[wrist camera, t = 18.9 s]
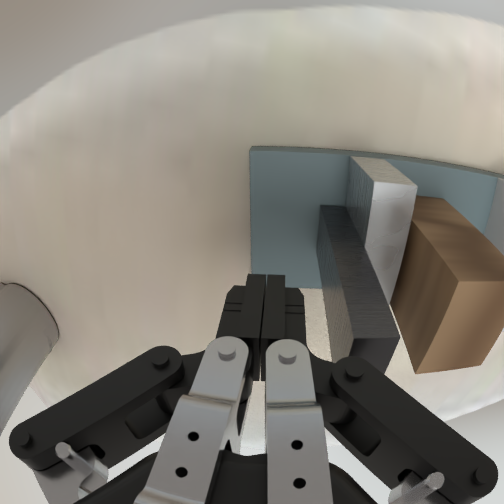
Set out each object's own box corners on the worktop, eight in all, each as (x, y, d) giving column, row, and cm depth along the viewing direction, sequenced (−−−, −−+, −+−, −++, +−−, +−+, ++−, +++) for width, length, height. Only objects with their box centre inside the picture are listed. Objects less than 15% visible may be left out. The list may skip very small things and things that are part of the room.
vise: (253, 273, 22) (243, 339, 16) (252, 146, 17) (236, 175, 12) (486, 278, 20) (522, 328, 15) (516, 178, 16) (570, 214, 10)
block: (373, 264, 19) (414, 373, 11) (387, 192, 16) (458, 281, 9) (425, 266, 19) (480, 365, 11) (443, 198, 16) (526, 281, 8)
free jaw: (311, 290, 20) (322, 430, 11) (323, 154, 16) (376, 247, 7) (361, 291, 20) (396, 425, 11) (384, 159, 15) (486, 252, 6)
